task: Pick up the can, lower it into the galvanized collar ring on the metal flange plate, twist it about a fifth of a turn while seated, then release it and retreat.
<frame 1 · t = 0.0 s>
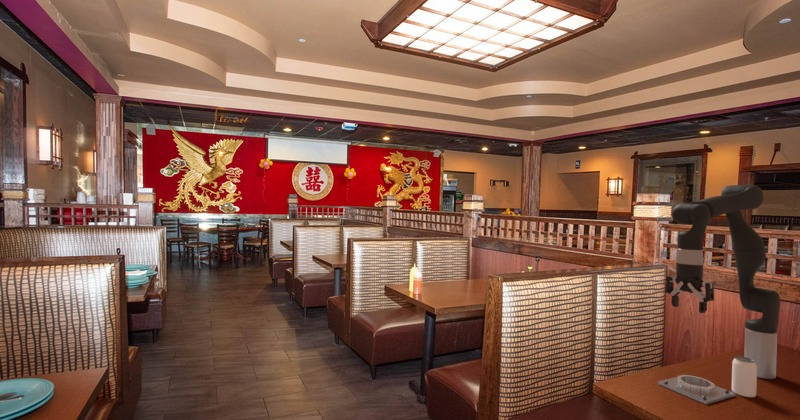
hand: (688, 309, 137), 29 cm above the table, fingers open, 8 cm apart
can: (743, 394, 139), on the table
duct flange: (695, 390, 141), on the table
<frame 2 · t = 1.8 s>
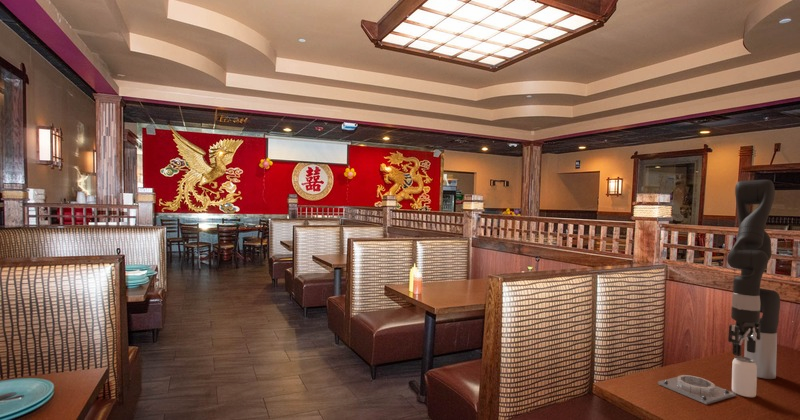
hand: (743, 353, 139), 14 cm above the table, fingers open, 8 cm apart
nothing on the table moved.
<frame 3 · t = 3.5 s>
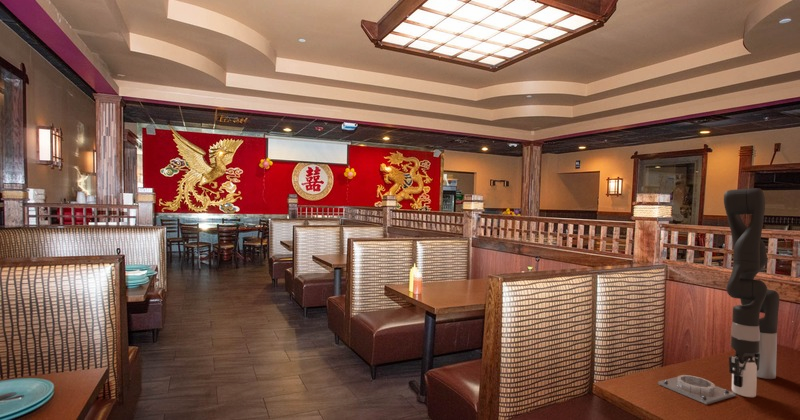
hand: (743, 384, 139), 3 cm above the table, fingers closed on can, 6 cm apart
can: (743, 394, 139), on the table, touching gripper
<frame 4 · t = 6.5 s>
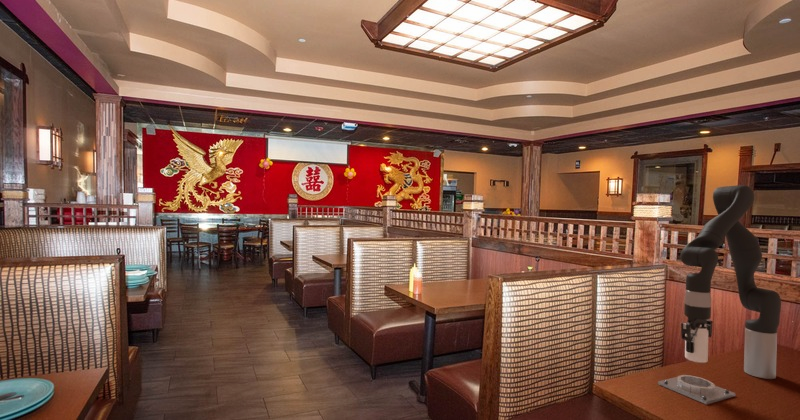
hand: (696, 350, 141), 14 cm above the table, fingers closed on can, 6 cm apart
can: (696, 360, 141), point 10 cm above the table, touching gripper
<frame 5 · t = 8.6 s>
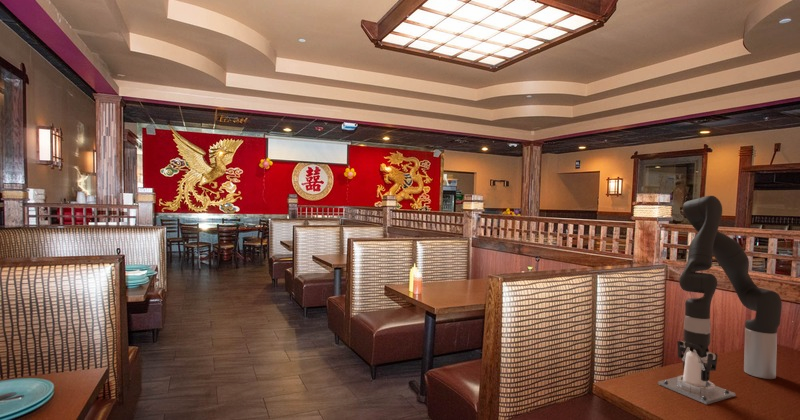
hand: (695, 376, 141), 5 cm above the table, fingers closed on can, 6 cm apart
can: (693, 385, 141), point 1 cm above the table, touching gripper
when the fingers open (5 cm above the table, at t = 9.4 s): can stays where it is, resting on duct flange.
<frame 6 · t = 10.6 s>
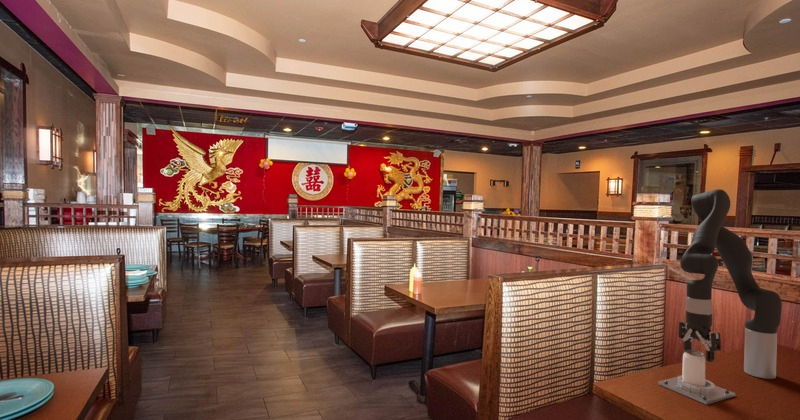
hand: (698, 356, 140), 12 cm above the table, fingers open, 8 cm apart
can: (693, 386, 141), point 1 cm above the table, touching duct flange
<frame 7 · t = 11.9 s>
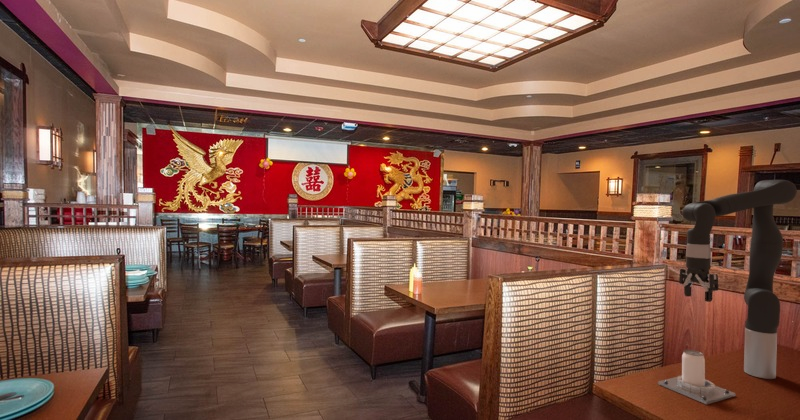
hand: (697, 298, 152), 30 cm above the table, fingers open, 8 cm apart
nothing on the table moved.
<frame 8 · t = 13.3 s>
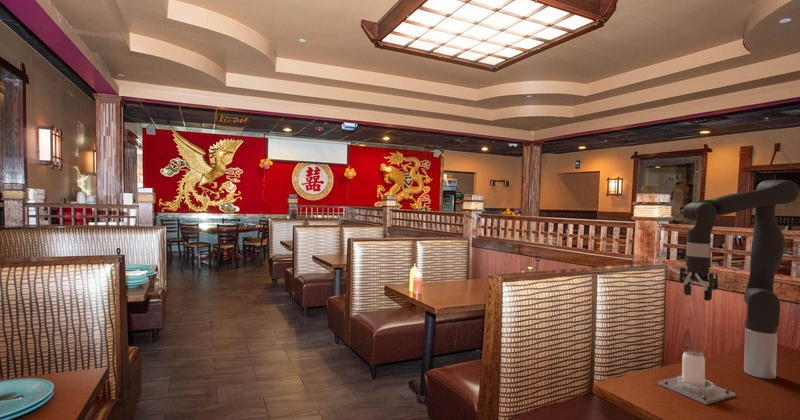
hand: (697, 297, 152), 30 cm above the table, fingers open, 8 cm apart
nothing on the table moved.
at the end: can 0.7 cm from the duct flange (horizontally); can point 0.8 cm above the table; can tilted 0° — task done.
